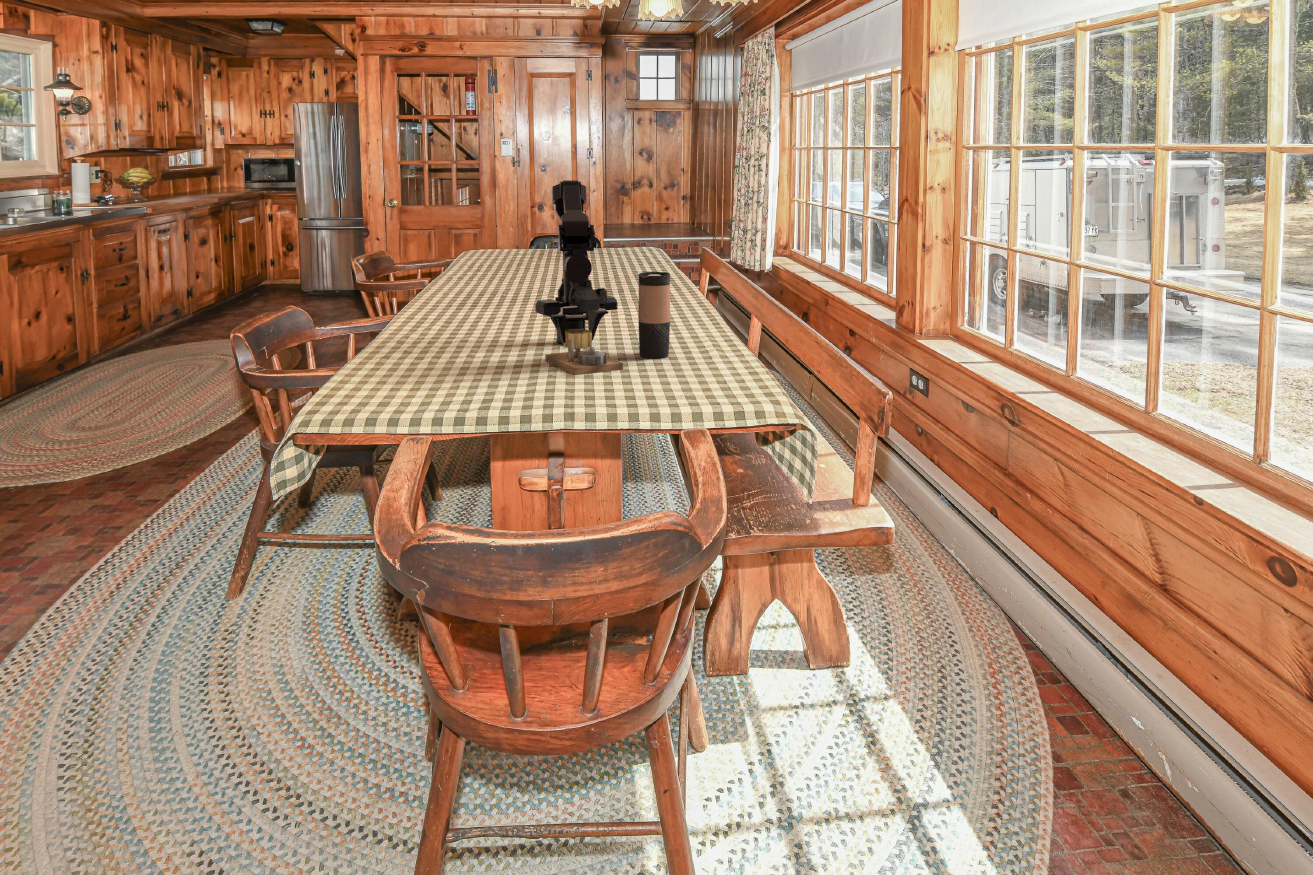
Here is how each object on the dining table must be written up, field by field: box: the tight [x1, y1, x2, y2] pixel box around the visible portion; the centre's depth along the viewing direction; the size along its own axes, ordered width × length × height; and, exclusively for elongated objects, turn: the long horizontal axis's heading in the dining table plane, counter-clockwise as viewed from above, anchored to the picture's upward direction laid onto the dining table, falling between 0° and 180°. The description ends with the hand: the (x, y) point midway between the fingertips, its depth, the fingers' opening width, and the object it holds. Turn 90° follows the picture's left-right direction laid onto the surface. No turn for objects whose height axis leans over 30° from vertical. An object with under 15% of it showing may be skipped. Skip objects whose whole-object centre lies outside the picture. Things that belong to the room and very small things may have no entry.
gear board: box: [544, 340, 624, 376], centre depth 223 cm, size 12×17×6 cm
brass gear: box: [563, 328, 593, 350], centre depth 225 cm, size 7×7×4 cm
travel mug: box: [637, 271, 671, 360], centre depth 231 cm, size 8×8×20 cm
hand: (577, 341), depth 225 cm, fingers closed on brass gear, 7 cm apart
